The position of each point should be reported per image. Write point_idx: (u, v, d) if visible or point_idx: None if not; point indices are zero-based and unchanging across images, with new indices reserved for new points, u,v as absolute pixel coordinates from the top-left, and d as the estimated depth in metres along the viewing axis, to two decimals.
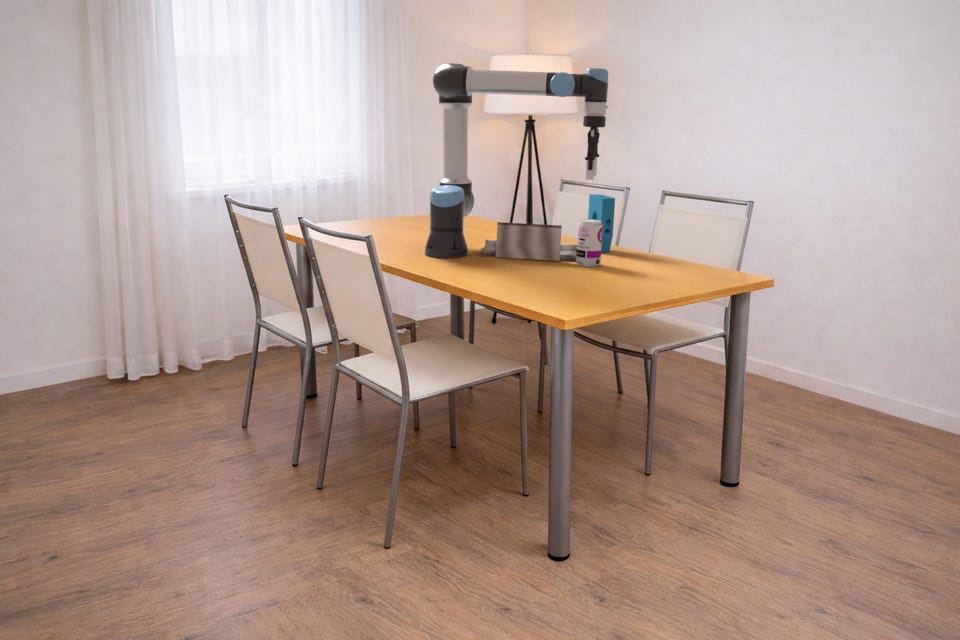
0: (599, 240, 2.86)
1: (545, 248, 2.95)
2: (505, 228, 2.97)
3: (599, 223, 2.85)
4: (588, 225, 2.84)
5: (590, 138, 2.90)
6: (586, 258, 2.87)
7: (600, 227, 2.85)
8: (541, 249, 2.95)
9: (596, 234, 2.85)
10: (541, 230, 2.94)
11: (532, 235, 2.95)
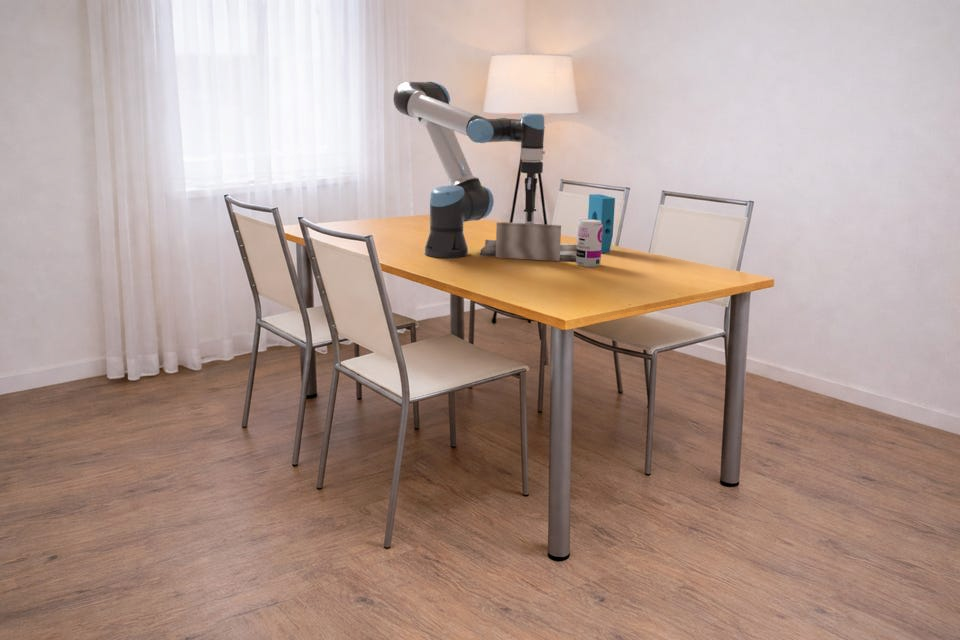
0: (599, 240, 2.86)
1: (544, 248, 2.94)
2: (504, 228, 2.95)
3: (599, 223, 2.85)
4: (588, 225, 2.84)
5: (527, 191, 2.88)
6: (586, 258, 2.87)
7: (600, 227, 2.85)
8: (541, 249, 2.95)
9: (596, 234, 2.85)
10: (541, 230, 2.93)
11: (532, 235, 2.94)
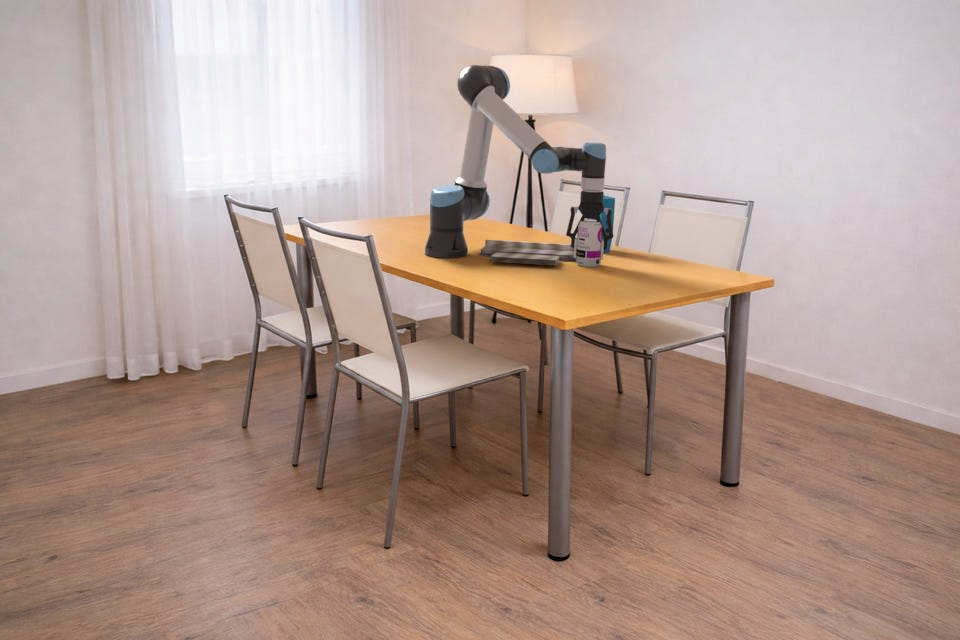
0: (599, 240, 2.86)
1: None
2: None
3: (599, 223, 2.85)
4: (588, 225, 2.84)
5: (610, 217, 2.85)
6: (586, 258, 2.87)
7: (600, 227, 2.85)
8: None
9: (596, 234, 2.85)
10: None
11: None
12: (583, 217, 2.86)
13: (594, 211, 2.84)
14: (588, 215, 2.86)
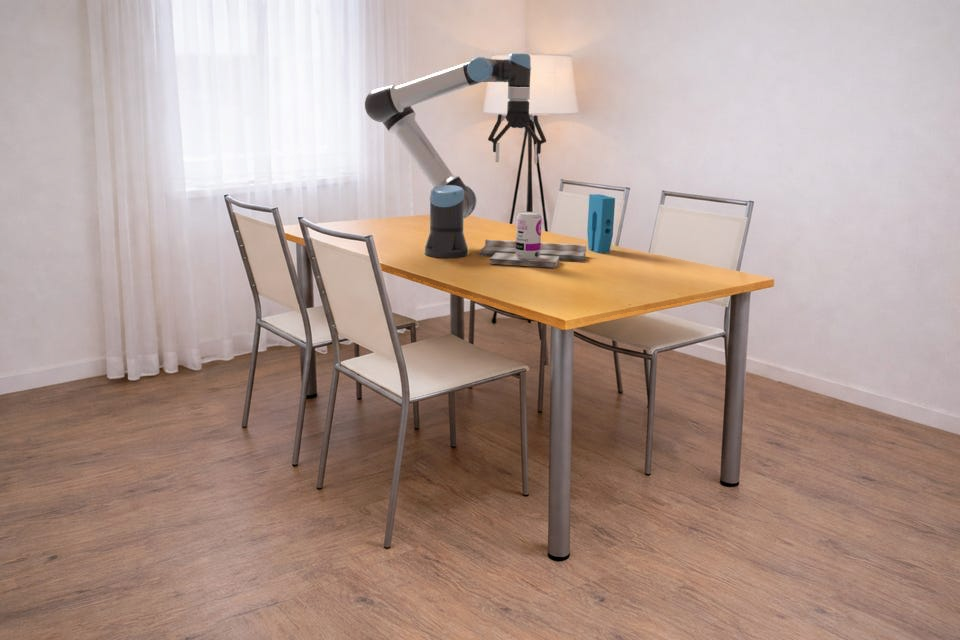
0: (538, 233, 2.85)
1: None
2: None
3: (537, 216, 2.84)
4: (526, 218, 2.83)
5: (538, 123, 2.98)
6: (524, 251, 2.86)
7: (538, 220, 2.84)
8: None
9: (534, 226, 2.84)
10: None
11: None
12: (508, 125, 2.99)
13: (520, 120, 2.97)
14: (515, 124, 2.99)
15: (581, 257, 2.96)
